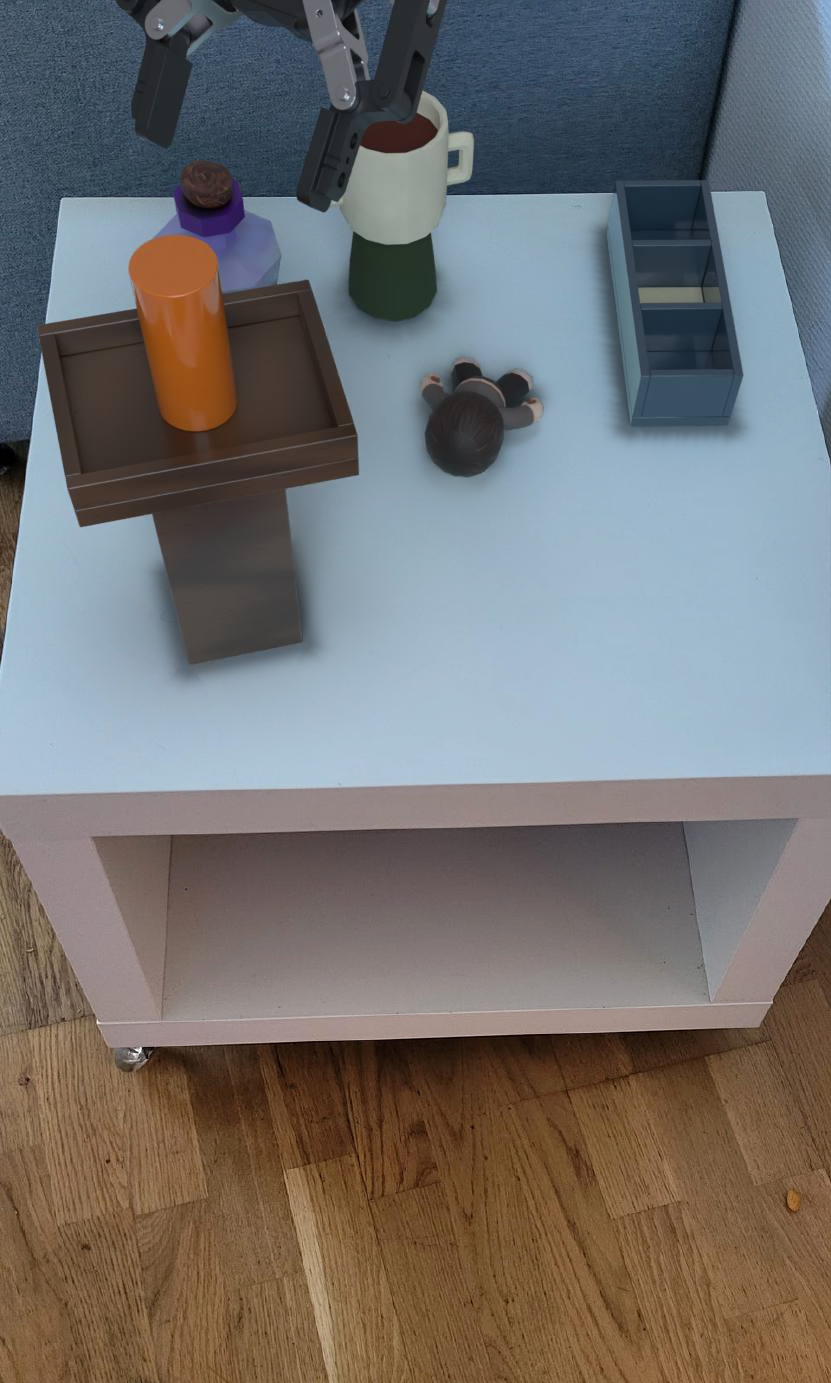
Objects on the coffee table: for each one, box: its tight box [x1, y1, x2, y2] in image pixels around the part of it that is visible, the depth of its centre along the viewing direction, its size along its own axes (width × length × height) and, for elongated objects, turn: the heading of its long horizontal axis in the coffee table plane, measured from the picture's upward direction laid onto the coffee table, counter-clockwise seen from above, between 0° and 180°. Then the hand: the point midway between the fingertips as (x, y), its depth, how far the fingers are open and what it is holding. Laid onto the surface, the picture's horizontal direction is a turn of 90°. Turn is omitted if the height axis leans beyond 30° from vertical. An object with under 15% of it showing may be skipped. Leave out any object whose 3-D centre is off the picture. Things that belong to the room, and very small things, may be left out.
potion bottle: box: [152, 159, 282, 294], centre depth 85 cm, size 9×9×12 cm
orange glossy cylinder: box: [127, 235, 238, 432], centre depth 62 cm, size 4×4×8 cm
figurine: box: [419, 355, 544, 478], centre depth 85 cm, size 8×5×10 cm
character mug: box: [329, 90, 475, 322], centre depth 86 cm, size 11×7×13 cm, turn 106°
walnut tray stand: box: [36, 279, 360, 666], centre depth 72 cm, size 14×11×18 cm
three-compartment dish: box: [606, 179, 744, 427], centre depth 89 cm, size 7×19×4 cm, turn 1°
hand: (230, 174), depth 59 cm, fingers open, 8 cm apart
